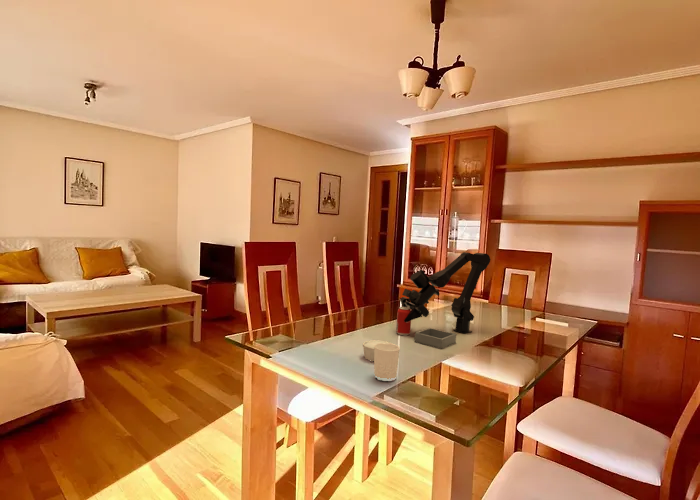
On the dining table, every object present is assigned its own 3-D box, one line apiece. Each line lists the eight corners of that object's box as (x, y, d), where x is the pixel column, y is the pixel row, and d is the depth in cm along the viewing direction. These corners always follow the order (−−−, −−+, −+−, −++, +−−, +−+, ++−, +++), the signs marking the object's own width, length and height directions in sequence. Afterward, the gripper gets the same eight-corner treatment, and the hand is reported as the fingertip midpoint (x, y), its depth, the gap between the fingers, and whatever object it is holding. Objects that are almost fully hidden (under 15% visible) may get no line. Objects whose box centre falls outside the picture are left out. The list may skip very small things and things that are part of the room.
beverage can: (409, 336, 166) (411, 309, 166) (395, 335, 168) (397, 308, 167) (410, 333, 173) (412, 307, 172) (396, 331, 174) (398, 305, 173)
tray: (429, 336, 168) (429, 327, 168) (455, 343, 160) (456, 334, 160) (414, 342, 159) (415, 332, 158) (441, 349, 150) (442, 339, 150)
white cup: (371, 373, 121) (372, 342, 121) (395, 373, 122) (396, 343, 121) (374, 383, 113) (376, 350, 113) (400, 383, 114) (402, 351, 114)
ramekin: (362, 352, 141) (362, 338, 141) (391, 354, 141) (392, 340, 141) (362, 363, 130) (362, 348, 130) (394, 365, 130) (395, 350, 130)
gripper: (404, 280, 179) (381, 303, 176) (424, 286, 161) (399, 312, 158) (418, 296, 182) (396, 319, 179) (439, 304, 164) (415, 329, 161)
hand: (401, 319), depth 169 cm, fingers closed on beverage can, 6 cm apart
